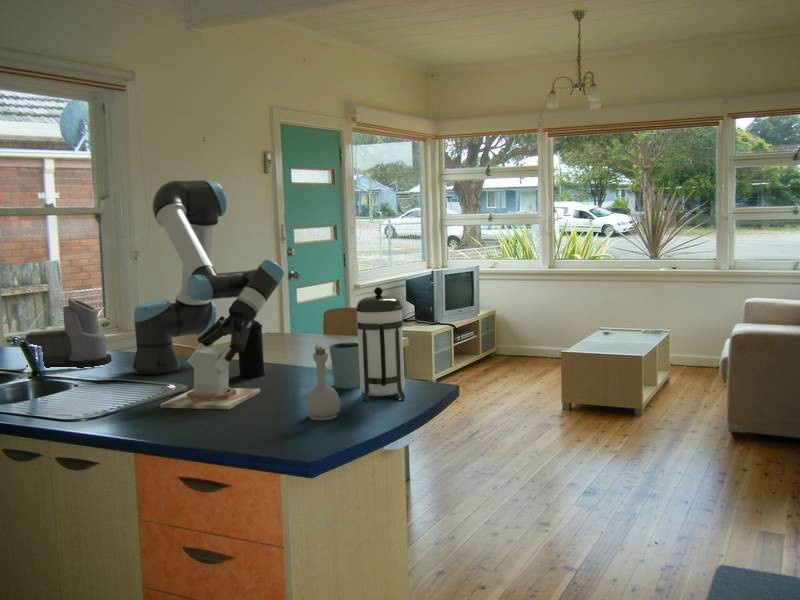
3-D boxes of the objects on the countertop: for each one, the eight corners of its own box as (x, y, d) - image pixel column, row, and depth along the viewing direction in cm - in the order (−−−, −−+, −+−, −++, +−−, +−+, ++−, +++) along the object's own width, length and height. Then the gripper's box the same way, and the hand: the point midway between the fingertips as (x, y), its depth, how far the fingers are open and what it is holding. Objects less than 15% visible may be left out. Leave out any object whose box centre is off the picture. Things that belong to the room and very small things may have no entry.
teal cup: (344, 390, 228) (342, 349, 226) (324, 385, 235) (322, 345, 234) (372, 384, 234) (370, 344, 233) (352, 380, 242) (350, 340, 240)
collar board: (160, 407, 215) (160, 399, 215) (196, 391, 235) (196, 383, 234) (228, 409, 210) (228, 401, 210) (260, 392, 230) (259, 384, 229)
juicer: (117, 359, 295) (112, 293, 293) (112, 367, 280) (107, 297, 277) (30, 366, 288) (24, 298, 286) (20, 374, 273) (13, 303, 270)
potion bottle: (323, 410, 205) (319, 341, 203) (348, 415, 199) (345, 343, 197) (298, 418, 198) (294, 346, 196) (323, 423, 193) (320, 349, 191)
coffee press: (341, 399, 217) (335, 289, 214) (383, 388, 228) (379, 283, 225) (385, 408, 205) (380, 291, 202) (428, 396, 216) (424, 286, 213)
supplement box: (218, 399, 218) (218, 354, 216) (193, 396, 220) (192, 351, 217) (229, 391, 225) (229, 347, 223) (204, 388, 227) (204, 345, 224)
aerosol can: (262, 377, 251) (258, 314, 249) (236, 378, 251) (232, 315, 249) (267, 372, 259) (263, 311, 257) (242, 373, 259) (238, 311, 257)
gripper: (281, 317, 223) (239, 380, 214) (230, 312, 240) (189, 370, 231) (264, 300, 218) (220, 364, 209) (213, 296, 236) (171, 354, 227)
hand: (204, 367), depth 220 cm, fingers open, 13 cm apart
